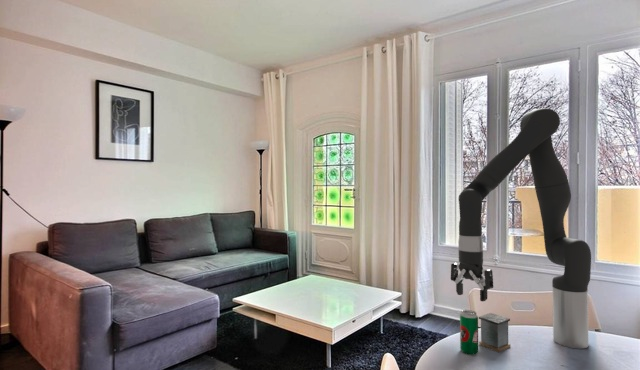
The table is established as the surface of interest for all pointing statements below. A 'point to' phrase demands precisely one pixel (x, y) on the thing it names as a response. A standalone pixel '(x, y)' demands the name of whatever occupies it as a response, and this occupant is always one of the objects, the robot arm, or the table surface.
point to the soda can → (469, 332)
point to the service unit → (494, 332)
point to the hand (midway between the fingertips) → (471, 297)
